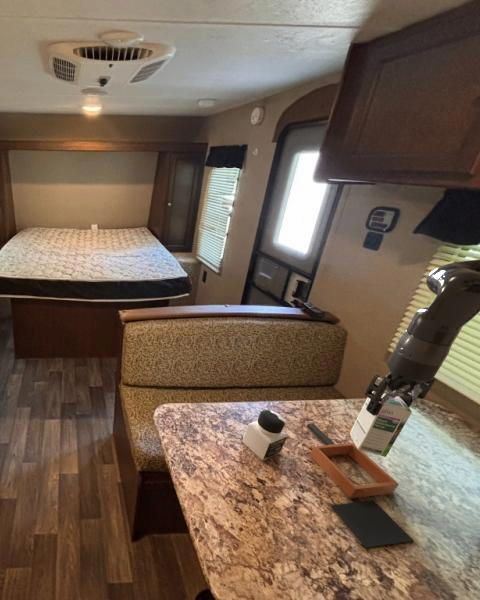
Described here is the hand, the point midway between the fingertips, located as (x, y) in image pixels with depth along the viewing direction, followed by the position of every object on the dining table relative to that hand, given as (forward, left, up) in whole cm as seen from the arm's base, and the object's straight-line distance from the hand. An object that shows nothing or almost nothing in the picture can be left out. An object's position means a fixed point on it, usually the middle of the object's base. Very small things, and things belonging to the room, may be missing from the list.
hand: (385, 411), depth 75 cm
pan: (0, -4, -22) cm, 22 cm away
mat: (+7, +12, -22) cm, 26 cm away
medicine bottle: (+19, -10, -22) cm, 31 cm away
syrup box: (0, 0, -11) cm, 11 cm away
